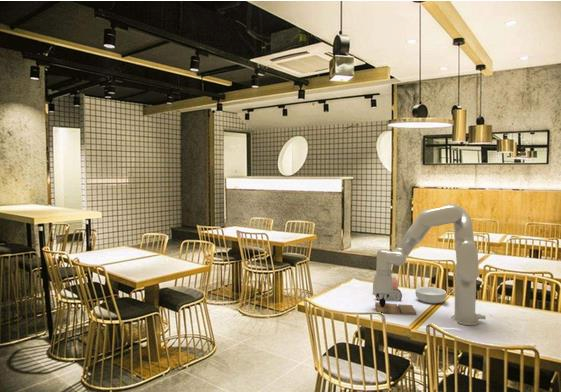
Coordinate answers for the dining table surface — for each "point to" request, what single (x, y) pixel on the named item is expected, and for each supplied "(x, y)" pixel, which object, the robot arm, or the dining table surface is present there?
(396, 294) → the tin
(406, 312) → the floor board
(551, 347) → the dining table surface
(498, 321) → the dining table surface
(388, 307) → the panel
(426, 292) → the cereal bowl
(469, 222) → the robot arm
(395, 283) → the vase
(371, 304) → the dining table surface
